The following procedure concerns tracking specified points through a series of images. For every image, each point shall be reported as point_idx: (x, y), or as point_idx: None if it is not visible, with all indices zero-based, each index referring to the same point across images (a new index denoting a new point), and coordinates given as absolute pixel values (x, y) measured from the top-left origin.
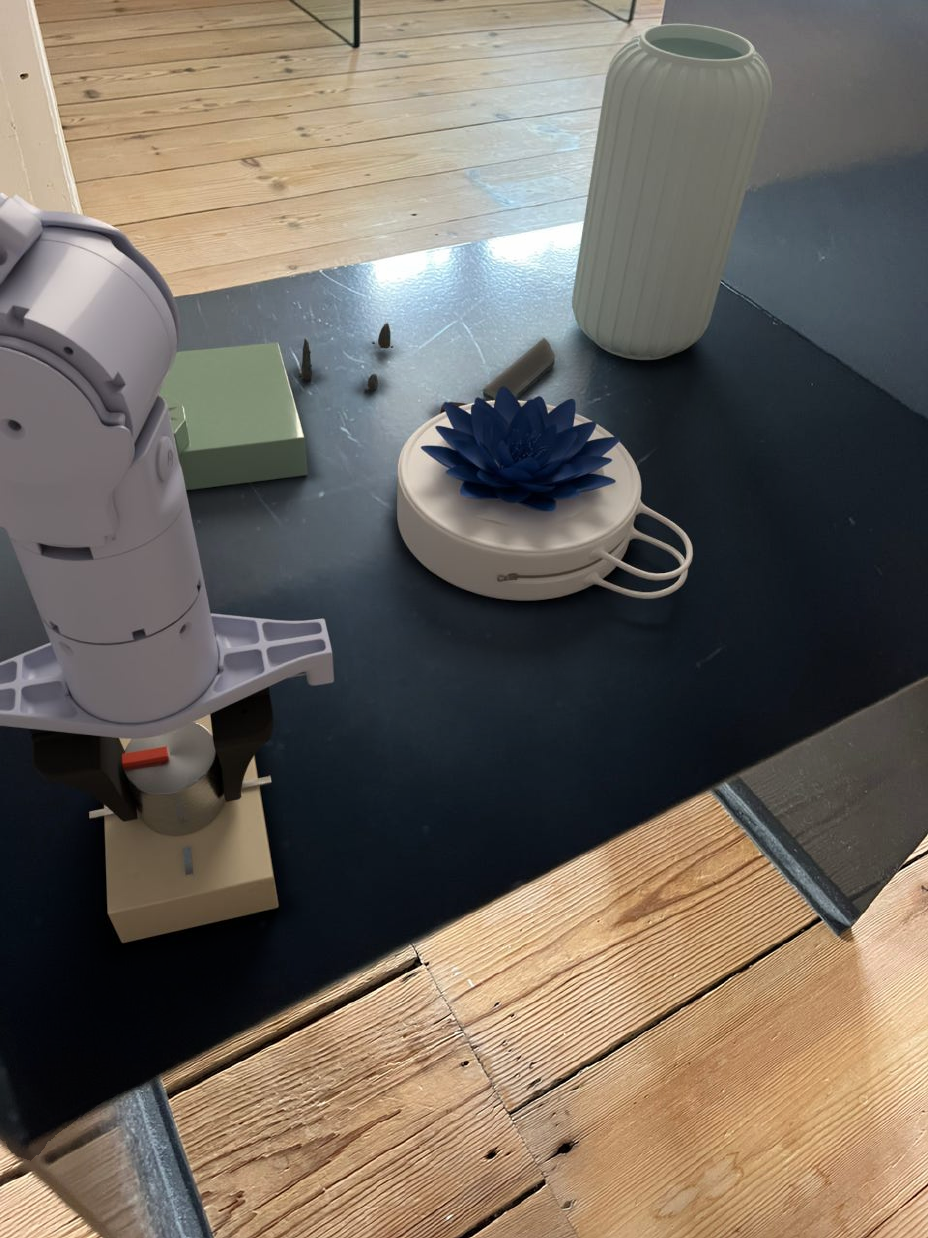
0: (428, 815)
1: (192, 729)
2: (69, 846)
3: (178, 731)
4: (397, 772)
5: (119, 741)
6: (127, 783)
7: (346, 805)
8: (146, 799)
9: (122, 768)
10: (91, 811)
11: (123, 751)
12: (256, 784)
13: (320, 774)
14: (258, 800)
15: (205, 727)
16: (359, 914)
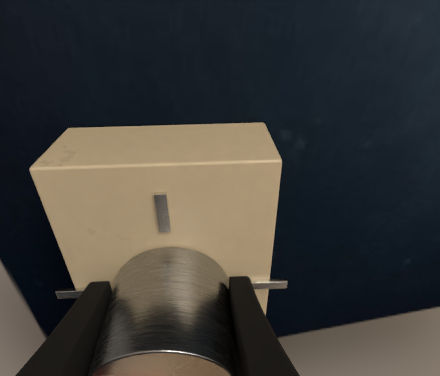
0: (417, 251)
1: (201, 369)
2: (44, 225)
3: (176, 369)
4: (418, 204)
5: (71, 357)
6: None
7: (345, 229)
8: None
9: (88, 372)
10: (57, 292)
11: (82, 340)
12: (267, 288)
13: (334, 191)
14: (265, 299)
15: (209, 197)
16: (314, 311)
